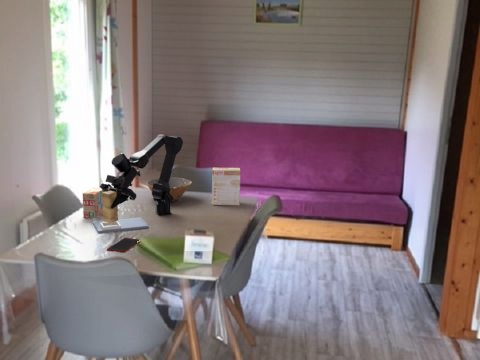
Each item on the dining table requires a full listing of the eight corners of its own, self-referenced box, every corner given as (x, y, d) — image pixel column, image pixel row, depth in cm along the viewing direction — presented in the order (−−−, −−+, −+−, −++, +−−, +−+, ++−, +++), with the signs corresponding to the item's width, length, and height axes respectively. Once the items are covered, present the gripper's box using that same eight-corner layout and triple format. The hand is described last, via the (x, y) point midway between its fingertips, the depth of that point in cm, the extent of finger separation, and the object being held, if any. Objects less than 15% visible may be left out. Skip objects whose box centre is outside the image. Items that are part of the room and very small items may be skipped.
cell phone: (106, 251, 189) (106, 249, 188) (124, 239, 202) (124, 237, 202) (123, 253, 187) (123, 251, 186) (141, 241, 200) (141, 239, 200)
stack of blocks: (101, 206, 250) (101, 183, 248) (113, 207, 250) (112, 183, 247) (83, 217, 230) (82, 192, 227) (95, 218, 229) (94, 193, 226)
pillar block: (111, 218, 216) (110, 190, 214) (118, 220, 214) (117, 192, 211) (103, 221, 213) (102, 192, 210) (109, 223, 210) (109, 194, 208)
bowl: (174, 191, 285) (174, 175, 283) (200, 200, 268) (200, 182, 266) (137, 197, 269) (137, 180, 267) (162, 207, 251) (162, 189, 249)
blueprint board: (140, 219, 230) (140, 214, 229) (148, 227, 217) (148, 223, 217) (93, 224, 220) (92, 219, 220) (98, 233, 208) (98, 228, 208)
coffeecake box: (239, 202, 266) (240, 167, 262) (239, 205, 259) (240, 170, 255) (212, 201, 266) (212, 166, 262) (211, 205, 259) (212, 169, 255)
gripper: (102, 165, 217) (82, 193, 210) (130, 170, 206) (111, 200, 200) (116, 179, 225) (98, 207, 218) (144, 185, 214) (126, 214, 208)
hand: (107, 207), depth 211 cm, fingers closed on pillar block, 4 cm apart
